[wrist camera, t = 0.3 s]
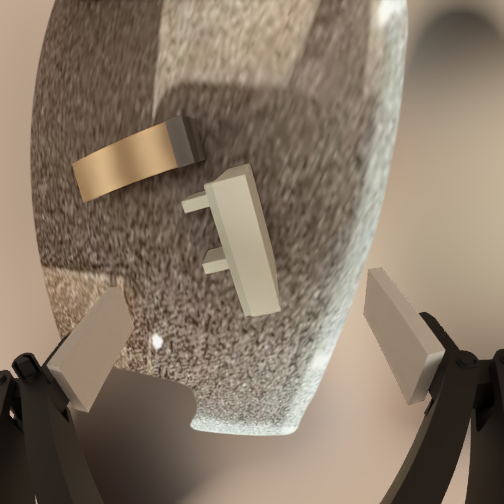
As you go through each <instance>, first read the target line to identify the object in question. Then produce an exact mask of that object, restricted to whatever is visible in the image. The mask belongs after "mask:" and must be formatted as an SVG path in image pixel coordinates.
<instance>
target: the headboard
mask: <svg viewBox="0 0 504 504" xmlns="http://www.w3.org/2000/svg"><path fill="white" fill-rule="evenodd" d="M204 188H205V190H204V191H201V192H197V193H194V194H191V195H189V196H188V197H187V198H186V199H184V200H183V201H182V205H183V208H184V211H185V213H188V212H192V211H195V210H199V209H202V208H206V207H210V208H211V211H212V215H213V218H214V221H215V225H216V228H217V231H218V234H219V237H220V241H221V244H222V247H219V248H215V249H210V250H208V252H207V254H206V257H205V259H204V261H203V263H202V265H203V268H204V270H205V273H206V274H209V273H213V272H218V271H222V270H226V269H230V272H231V275H232V278H233V281H234V284H235V288H236V291H237V294H238V297H239V300H240V303H241V306H242V309H243V312H244V315H245V316H249V315H252V317H255V316H260V315H264V314H269V313H274V312H279V311H281V309H280V300H279V291H278V283H277V274H276V266H275V258H274V254H273V250H272V246H271V242H270V238H269V234H268V230H267V226H266V222H265V218H264V215H263V211H262V207H261V203H260V199H259V195H258V192H257V188H256V184H255V180H254V176H253V173H252V169H251V165H250V163H248V164H244V165H240V166H236V167H233V168H229V169H227V170H226V171H225V172H224V173H223V174H222V175H220V176H219V177H218V178H217V179H216V180H215V181H213V182H209V183H206V184H205V185H204Z"/></svg>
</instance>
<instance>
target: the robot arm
mask: <svg viewBox="0 0 504 504" xmlns="http://www.w3.org/2000/svg"><path fill="white" fill-rule="evenodd" d="M364 316H365V318H366V320H367V322H368V324H369V325H370V327H371V329H372V331H373V333H374V335H375V337H376V339H377V341H378V343H379V345H380V347H381V349H382V351H383V353H384V355H385V357H386V359H387V361H388V364H389V366H390V368H391V370H392V372H393V374H394V376H395V378H396V380H397V383H398V385H399V387H400V389H401V391H402V393H403V396H404V398H405V400H406V403H407V405H410V404H414V403H417V402H421V401H424V399H425V397H426V395H427V393H428V391H429V393H430V395H431V397H432V399H431V401H430V403H429V405H428V407H427V409H426V411H425V412H424V414H425V416H424V419H423V421H422V424H421V426H420V428H419V431H418V433H417V435H416V438H415V440H414V442H413V444H412V446H411V448H410V451H409V453H408V455H407V457H406V459H405V461H404V463H403V465H402V467H401V469H400V470H399V472H398V474H397V476H396V478H395V480H394V481H393V483H392V485H391V487H390V488H389V490H388V492H387V493H386V495H385V497H384V498H383V500H382V501H381V503H380V504H441V502H442V500H443V498H444V496H445V493H446V491H447V489H448V486H449V484H450V481H451V478H452V476H453V473H454V471H455V468H456V465H457V462H458V459H459V456H460V453H461V450H462V447H463V443H464V440H465V436H466V432H467V429H468V425H469V421H470V417H471V449H470V450H471V451H470V466H469V478H468V486H467V494H466V500H465V504H504V349H500V350H498V351H496V353H495V355H494V357H493V359H491V360H478V358H477V357H476V356H475V355H474V354H472V353H471V352H468V351H463V350H459V349H458V347H457V346H456V345H455V343H454V342H453V341H452V339H451V338H450V337H449V335H448V334H447V333H446V332H444V329H443V328H442V326H440V324H439V323H438V321H437V320H436V319H435V318H434V317H433V316H431V315H430V314H428V313H426V312H422V313H418V312H417V311H416V310H415V308H414V307H413V306H412V304H411V303H410V302H409V301H408V299H407V298H406V297H405V296H404V294H403V293H402V292H401V291H400V289H399V288H398V287H397V286H396V284H395V283H394V282H393V281H392V280H391V279H390V277H389V276H388V275H387V274H386V273H385V271H384V270H383V269H382V268H375V269H368V278H367V288H366V298H365V306H364ZM133 329H134V325H133V322H132V320H131V317H130V314H129V311H128V308H127V305H126V302H125V299H124V296H123V293H122V290H121V287H109V288H108V289H107V291H106V292H105V293H104V294H103V295H102V296H101V297H100V299H99V300H98V301H97V302H96V303H95V304H94V306H93V307H92V308H91V309H90V310H89V312H88V313H87V314H86V315H85V316H84V318H83V319H82V320H81V321H80V322H79V324H78V325H77V326H76V327H75V329H74V330H73V331H72V332H71V333H69V334H68V335H67V336H65V337H64V338H63V339H62V340H61V342H60V343H59V344H58V346H57V347H56V348H55V349H54V351H53V352H52V353H51V354H50V356H49V357H48V358H47V360H46V361H45V363H44V364H43V365H42V366H41V367H40V365H39V363H38V361H37V360H36V358H35V356H34V355H33V354H32V353H23V354H21V355H19V356H18V357H17V358H16V359H15V360H14V361H13V363H12V368H13V369H14V371H15V373H16V374H17V376H18V377H19V378H14V377H13V376H12V375H11V373H10V371H8V370H3V371H0V504H36V502H35V495H36V499H37V502H38V504H104V503H103V501H102V499H101V497H100V495H99V493H98V491H97V488H96V486H95V483H94V481H93V479H92V476H91V474H90V471H89V469H88V466H87V464H86V461H85V458H84V455H83V452H82V449H81V446H80V443H79V440H78V437H77V434H76V431H75V427H74V424H73V420H72V417H71V413H70V410H69V409H68V407H67V405H68V403H69V401H70V402H71V404H72V405H73V406H74V408H75V409H76V410H80V411H84V412H89V410H90V408H91V406H92V404H93V402H94V400H95V398H96V396H97V395H98V393H99V391H100V389H101V387H102V385H103V383H104V381H105V379H106V377H107V375H108V374H109V372H110V370H111V368H112V366H113V365H114V363H115V361H116V359H117V357H118V356H119V354H120V352H121V350H122V348H123V347H124V345H125V343H126V341H127V340H128V338H129V336H130V334H131V333H132V331H133ZM10 410H11V411H12V412H13V414H14V418H12V417H11V416H10Z"/></svg>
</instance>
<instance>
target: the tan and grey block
mask: <svg viewBox="0 0 504 504" xmlns="http://www.w3.org/2000/svg"><path fill="white" fill-rule="evenodd" d="M205 159H206V156H205V153H204V149H203V146H202V142H201V139H200V135H199V132H198V128H197V125H196V121H195V119H193V118H190V117H187V116H184V115H179V116H176V117H173V118H170V119H168V120H165V122H164V123H161V124H159V125H156V126H153V127H151V128H148V129H146V130H143V131H141V132H138V133H136V134H134V135H131V136H129V137H127V138H124V139H122V140H120V141H118V142H115V143H113V144H111V145H109V146H107V147H105V148H103V149H101V150H98V151H96V152H94V153H92V154H90V155H88V156H86V157H84V158H83V159H81V160H79V161H77V162H75V163H73V164H72V166H73V169H74V173H75V176H76V179H77V183H78V186H79V189H80V192H81V196H82V199H83V202H84V203H85V202H87V201H89V200H91V199H94V198H96V197H99V196H101V195H103V194H106V193H108V192H111V191H113V190H116V189H118V188H121V187H123V186H126V185H128V184H131V183H134V182H136V181H139V180H142V179H145V178H147V177H150V176H153V175H156V174H159V173H161V172H164V171H167V170H170V169H173V168H176V167H178V168H180V167H184V166H187V165H190V164H193V163H196V162H199V161H202V160H205Z"/></svg>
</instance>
